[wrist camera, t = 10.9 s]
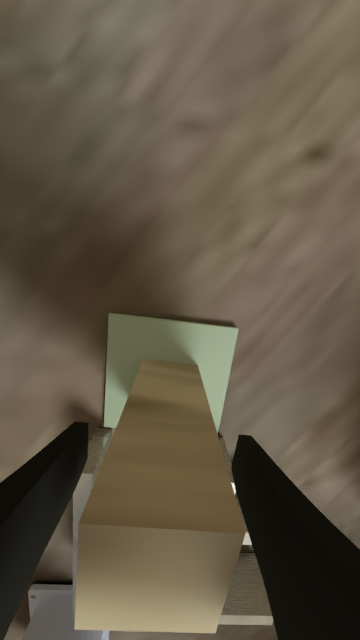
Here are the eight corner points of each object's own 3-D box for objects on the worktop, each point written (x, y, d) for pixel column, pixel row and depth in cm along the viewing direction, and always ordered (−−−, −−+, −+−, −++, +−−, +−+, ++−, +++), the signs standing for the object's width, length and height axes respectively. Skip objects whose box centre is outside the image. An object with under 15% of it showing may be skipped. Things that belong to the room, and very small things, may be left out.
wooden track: (253, 561, 19) (271, 625, 15) (92, 555, 18) (72, 621, 14) (289, 442, 15) (322, 488, 12) (96, 427, 15) (72, 472, 11)
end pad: (216, 431, 15) (217, 435, 15) (105, 423, 14) (103, 426, 14) (236, 327, 13) (238, 328, 13) (110, 312, 13) (108, 313, 12)
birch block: (189, 412, 14) (215, 633, 5) (137, 407, 14) (74, 629, 5) (197, 365, 13) (245, 533, 4) (143, 358, 13) (78, 523, 4)
